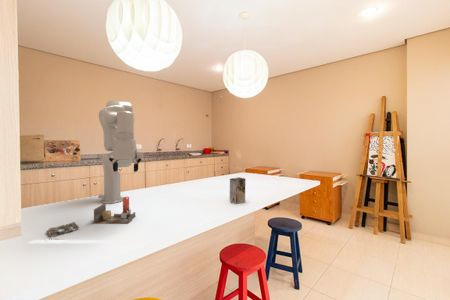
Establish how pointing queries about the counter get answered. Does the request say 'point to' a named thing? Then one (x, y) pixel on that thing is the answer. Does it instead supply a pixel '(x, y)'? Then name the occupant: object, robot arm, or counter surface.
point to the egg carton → (65, 227)
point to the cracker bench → (114, 219)
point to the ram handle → (125, 208)
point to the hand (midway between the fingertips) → (125, 171)
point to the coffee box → (237, 190)
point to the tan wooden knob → (106, 215)
